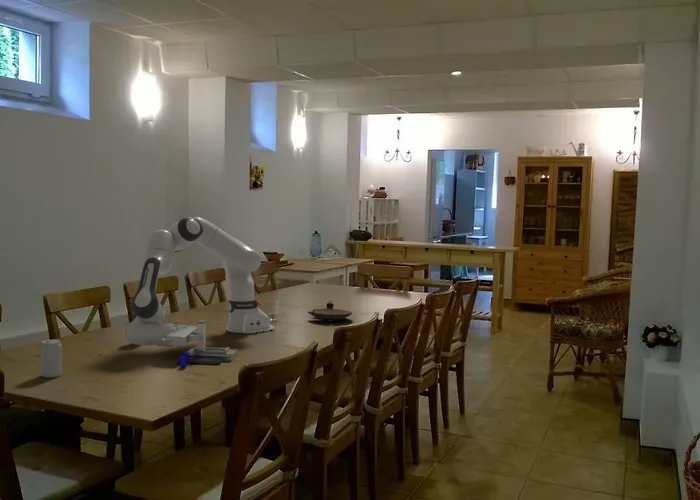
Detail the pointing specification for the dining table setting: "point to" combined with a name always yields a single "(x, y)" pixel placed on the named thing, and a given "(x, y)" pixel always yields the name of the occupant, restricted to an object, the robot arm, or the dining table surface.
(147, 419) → the dining table surface
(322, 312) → the oil lamp
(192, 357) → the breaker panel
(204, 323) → the knob
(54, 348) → the beverage can
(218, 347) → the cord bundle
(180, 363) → the cable holder
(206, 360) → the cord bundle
